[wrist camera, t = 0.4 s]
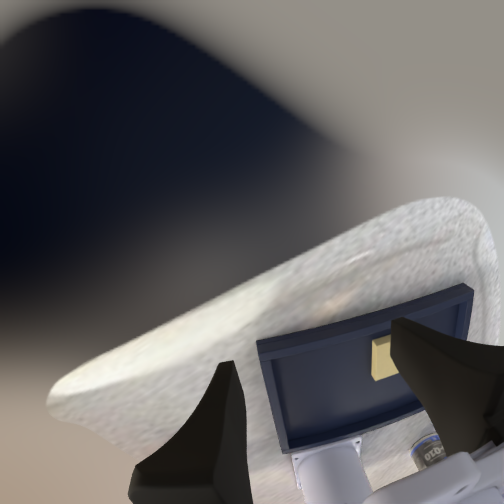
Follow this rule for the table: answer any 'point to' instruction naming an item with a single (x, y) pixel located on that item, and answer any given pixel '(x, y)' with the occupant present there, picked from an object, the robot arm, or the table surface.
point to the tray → (348, 372)
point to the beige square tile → (382, 359)
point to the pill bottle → (427, 451)
